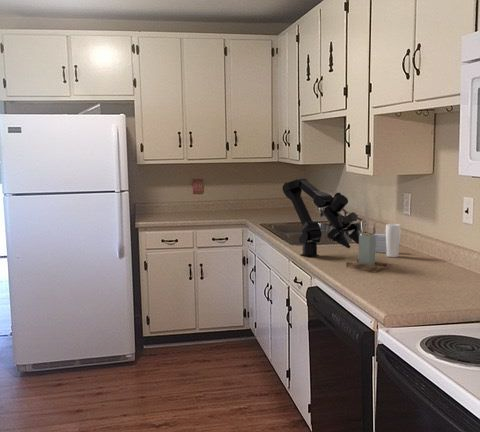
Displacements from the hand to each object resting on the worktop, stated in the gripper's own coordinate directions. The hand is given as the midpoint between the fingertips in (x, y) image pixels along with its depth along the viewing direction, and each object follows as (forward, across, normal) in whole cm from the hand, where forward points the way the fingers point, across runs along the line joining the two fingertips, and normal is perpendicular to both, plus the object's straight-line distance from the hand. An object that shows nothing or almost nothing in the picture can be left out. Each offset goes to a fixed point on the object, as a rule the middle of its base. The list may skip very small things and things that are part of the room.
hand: (355, 246), depth 235 cm
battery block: (+9, 0, +1) cm, 9 cm away
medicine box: (+2, +34, +10) cm, 36 cm away
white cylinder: (+8, +28, +4) cm, 30 cm away
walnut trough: (+10, 0, +2) cm, 10 cm away
